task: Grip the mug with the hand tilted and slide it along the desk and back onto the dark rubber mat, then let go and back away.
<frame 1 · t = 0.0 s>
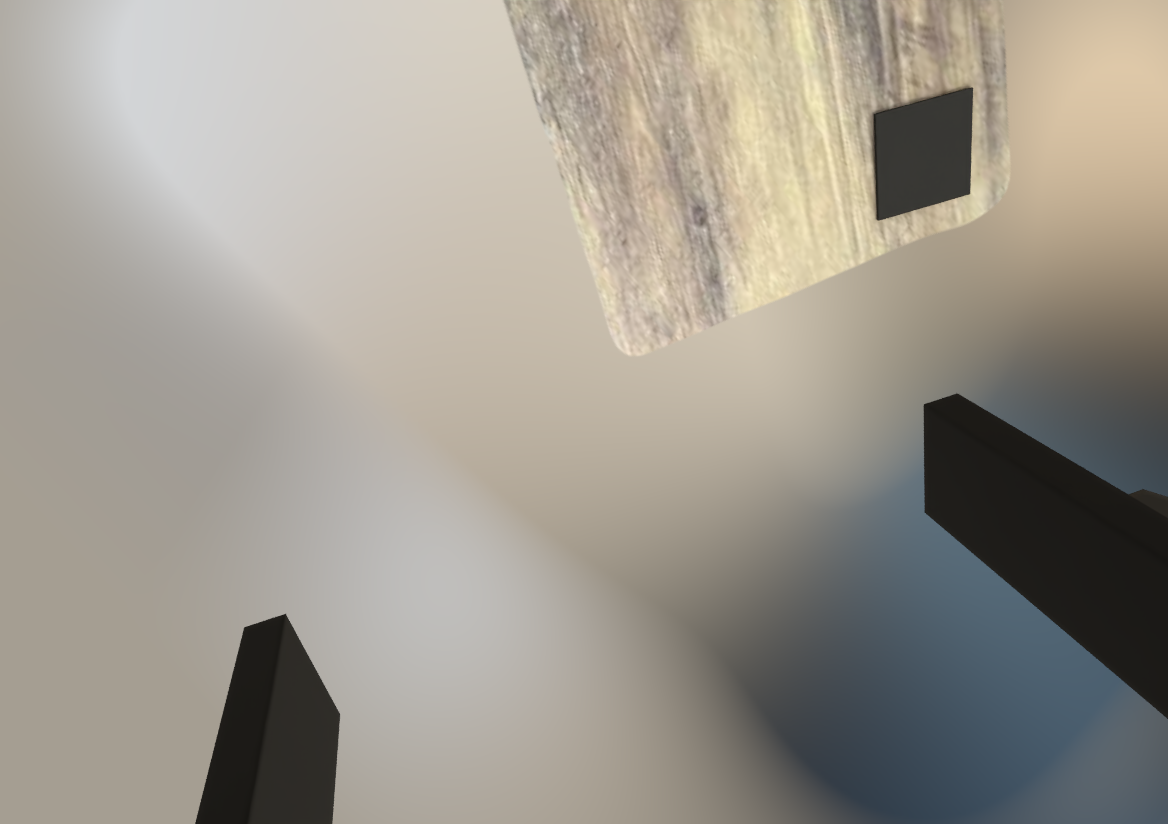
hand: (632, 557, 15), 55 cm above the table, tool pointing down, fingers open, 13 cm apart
mat: (922, 155, 72), on the table
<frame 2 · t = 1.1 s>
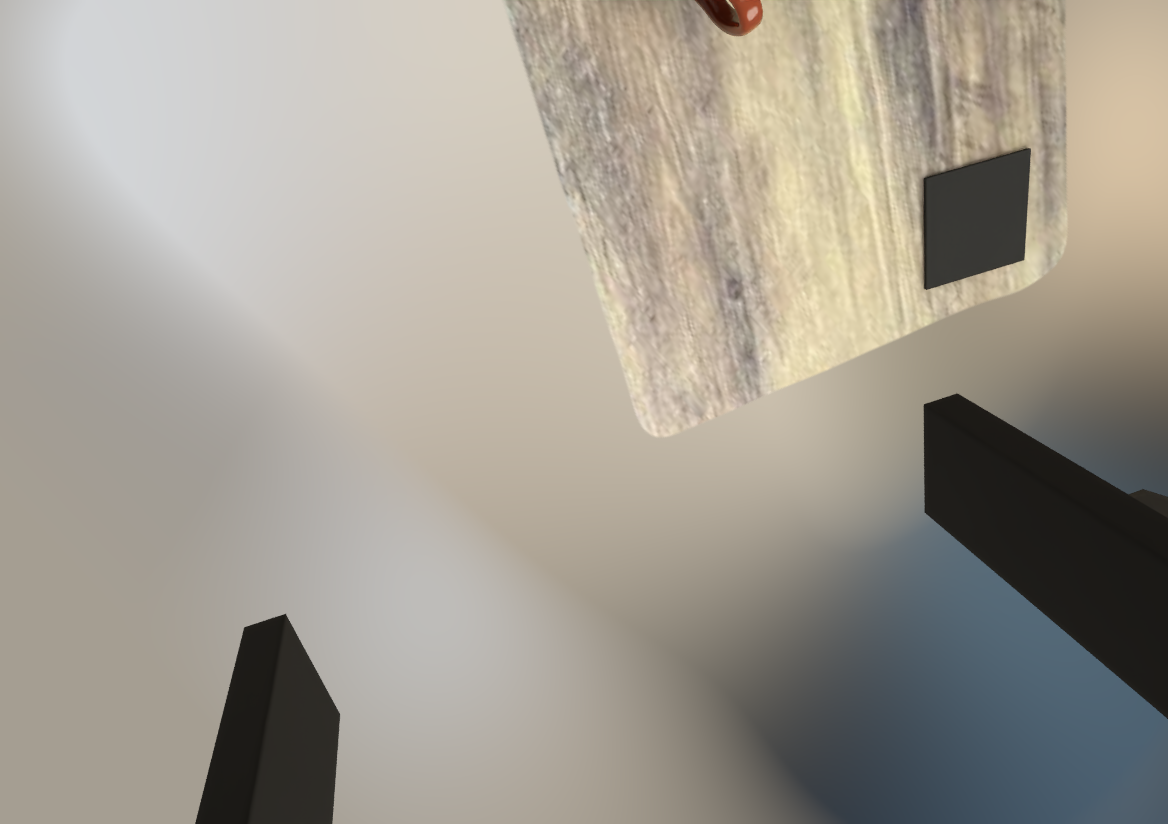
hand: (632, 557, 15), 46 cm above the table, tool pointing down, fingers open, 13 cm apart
mat: (975, 220, 67), on the table
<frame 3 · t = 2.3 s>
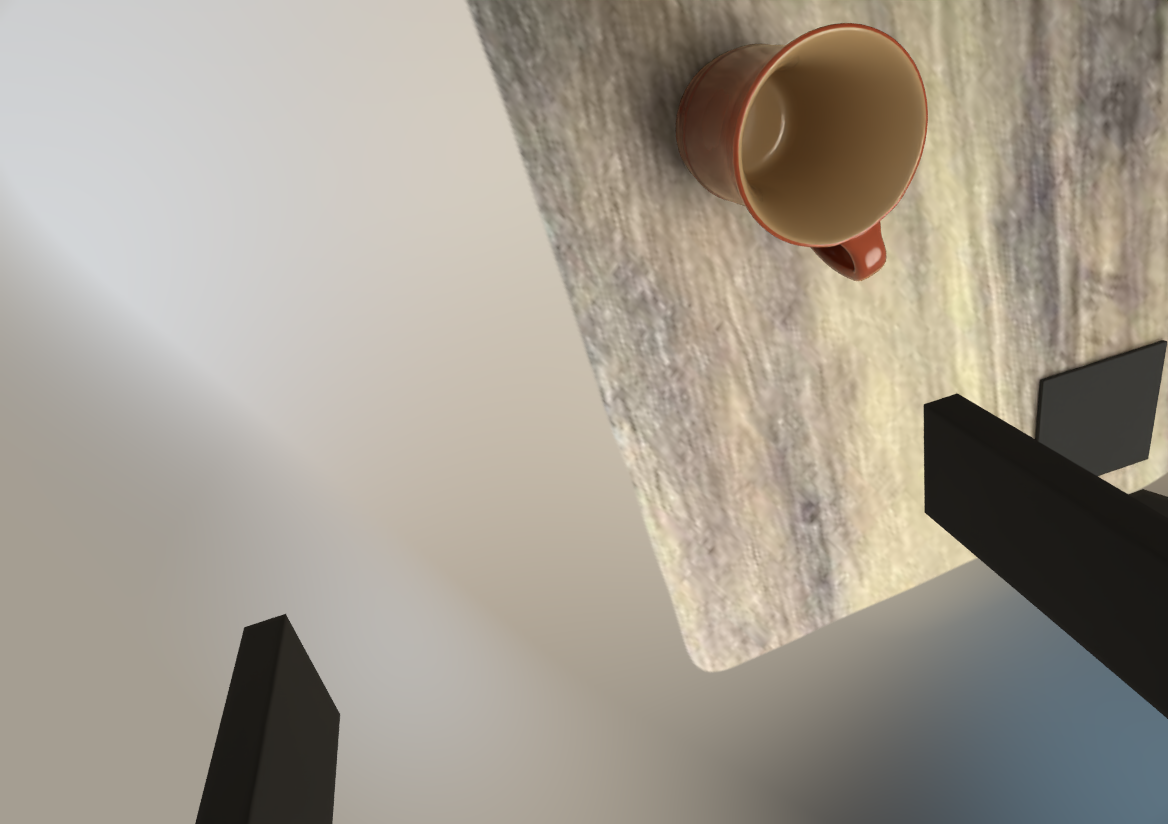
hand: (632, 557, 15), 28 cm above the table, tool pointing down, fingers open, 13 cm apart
mat: (1095, 420, 56), on the table
mug: (744, 149, 41), on the table
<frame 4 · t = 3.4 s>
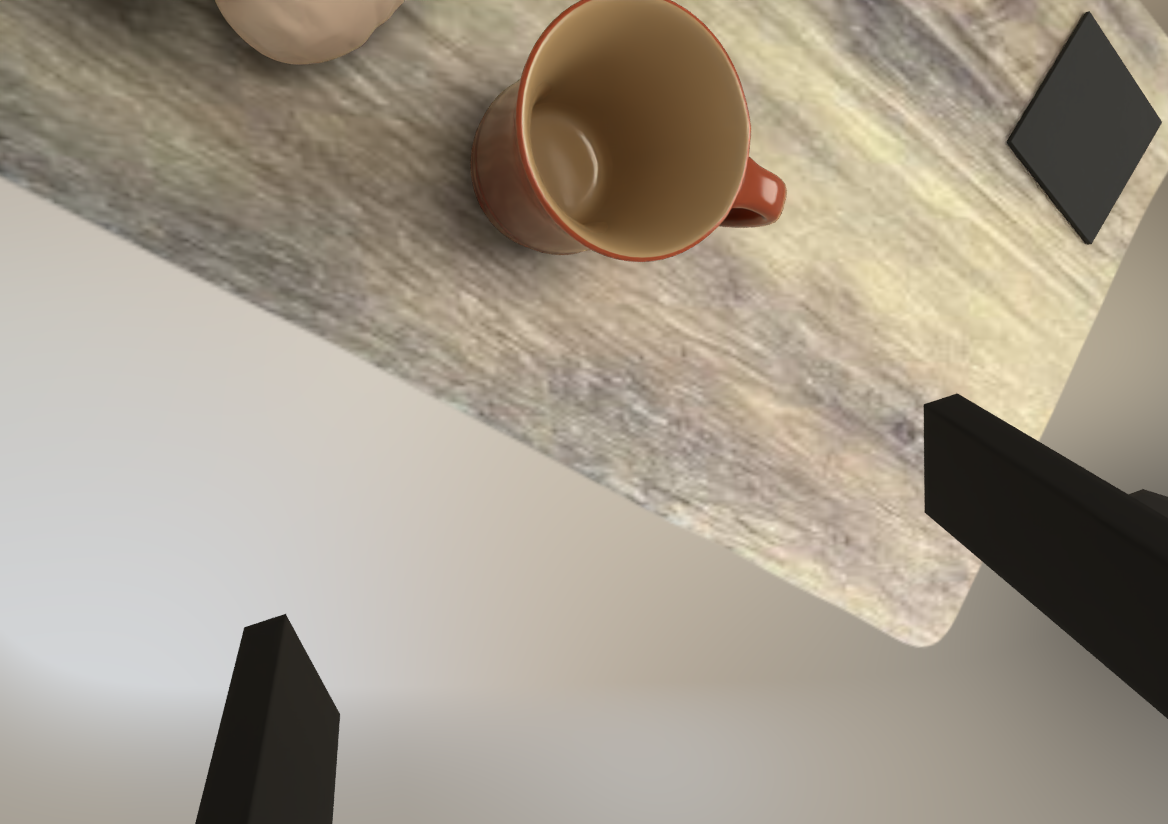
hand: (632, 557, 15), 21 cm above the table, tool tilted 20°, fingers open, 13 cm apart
mat: (1085, 132, 48), on the table
mug: (570, 187, 36), on the table
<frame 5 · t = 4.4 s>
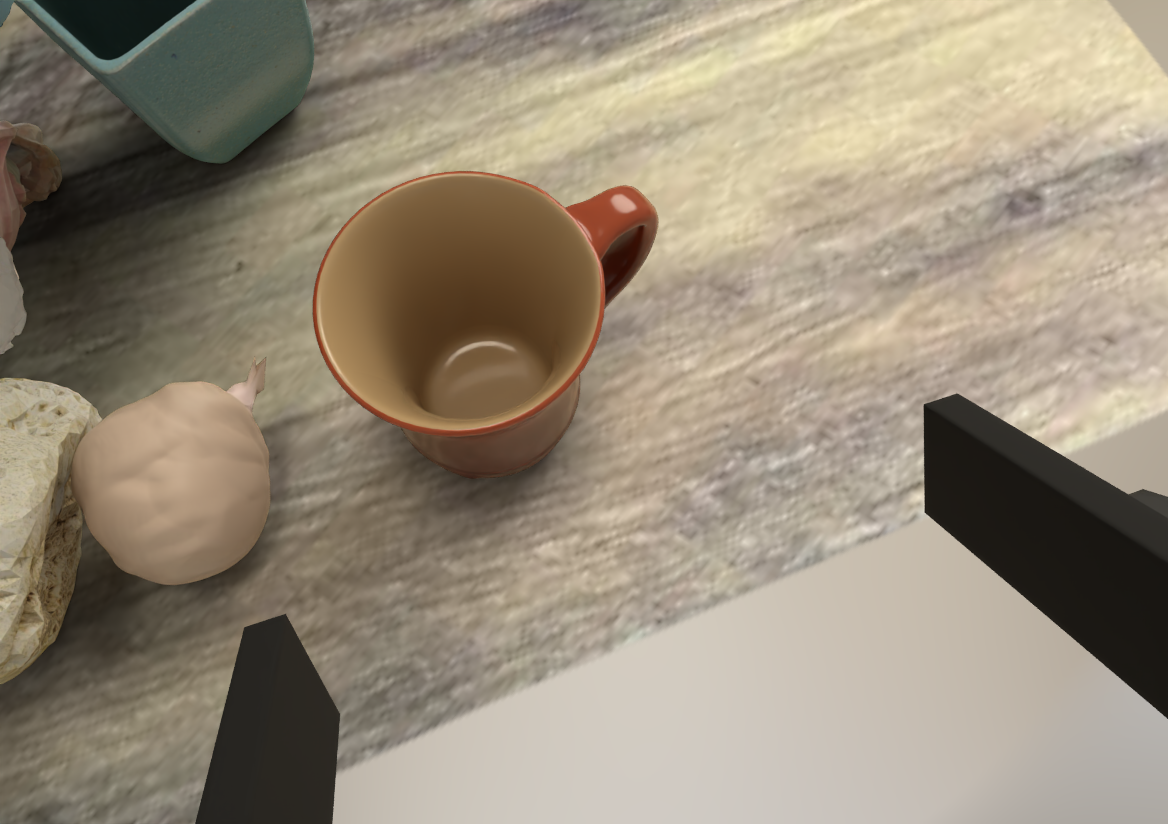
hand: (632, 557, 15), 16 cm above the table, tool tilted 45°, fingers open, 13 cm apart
decorative item: (37, 652, 29), on the table, touching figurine
garlic bulb: (91, 530, 27), point 3 cm above the table
mug: (523, 382, 33), on the table
flower pot: (230, 109, 37), on the table
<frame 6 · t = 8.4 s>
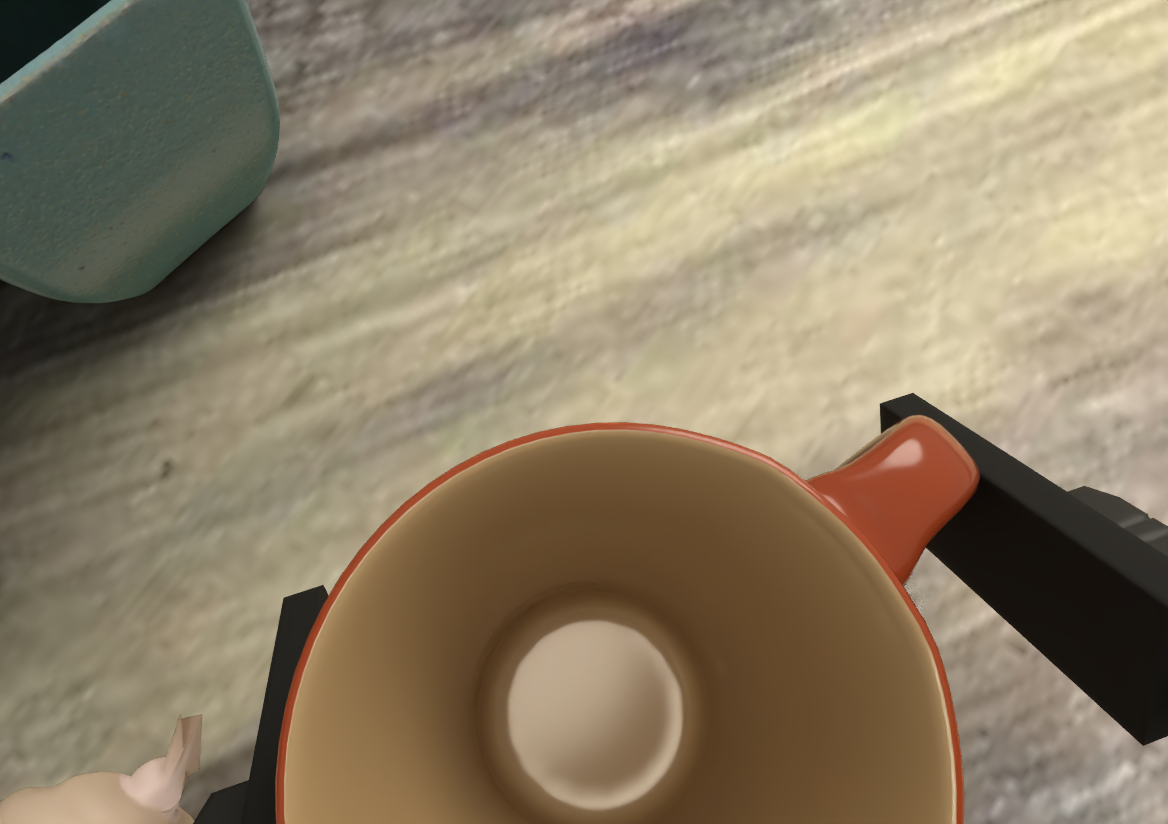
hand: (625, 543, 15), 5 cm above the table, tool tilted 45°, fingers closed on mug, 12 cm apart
mug: (638, 662, 20), on the table, touching gripper
flower pot: (154, 202, 24), on the table
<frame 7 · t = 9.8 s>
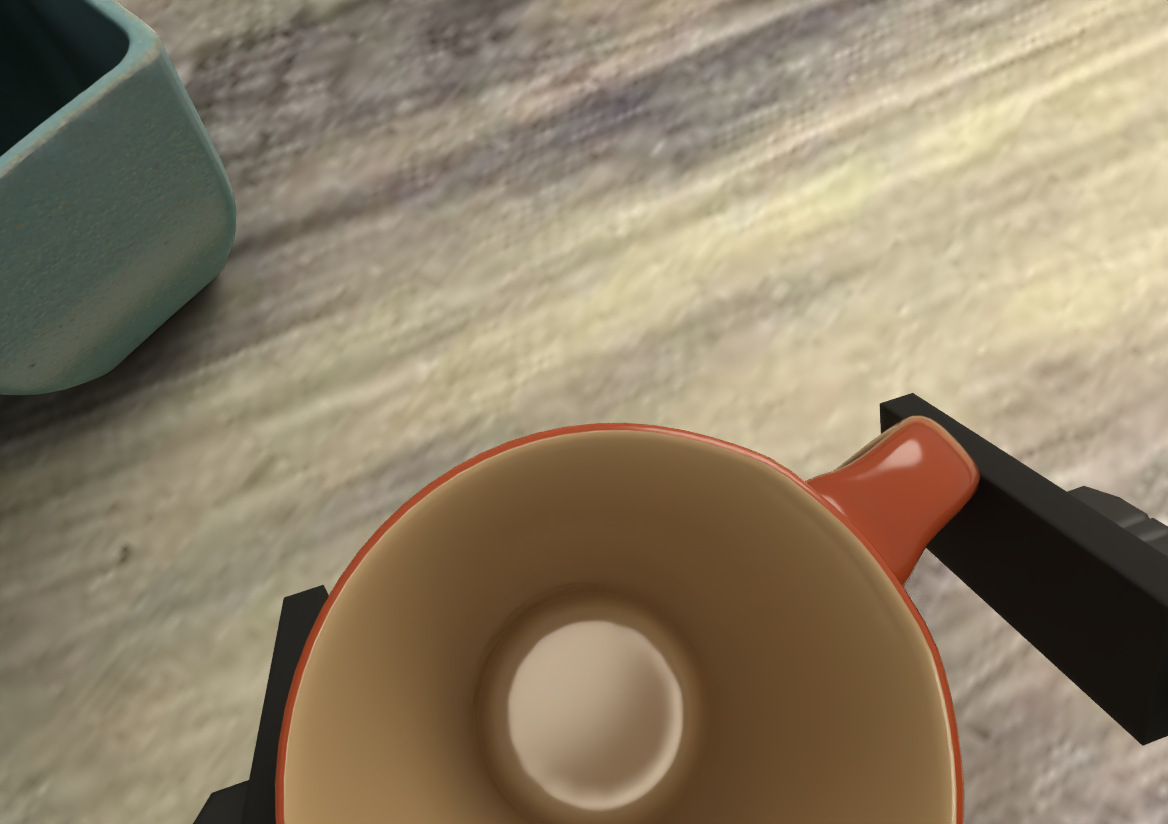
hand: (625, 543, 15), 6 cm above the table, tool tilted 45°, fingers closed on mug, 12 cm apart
mug: (638, 662, 20), on the table, touching gripper
flower pot: (116, 278, 24), on the table
when the fingers open (5 cm above the table, at t = 17.3 s): mug stays where it is, resting on mat.
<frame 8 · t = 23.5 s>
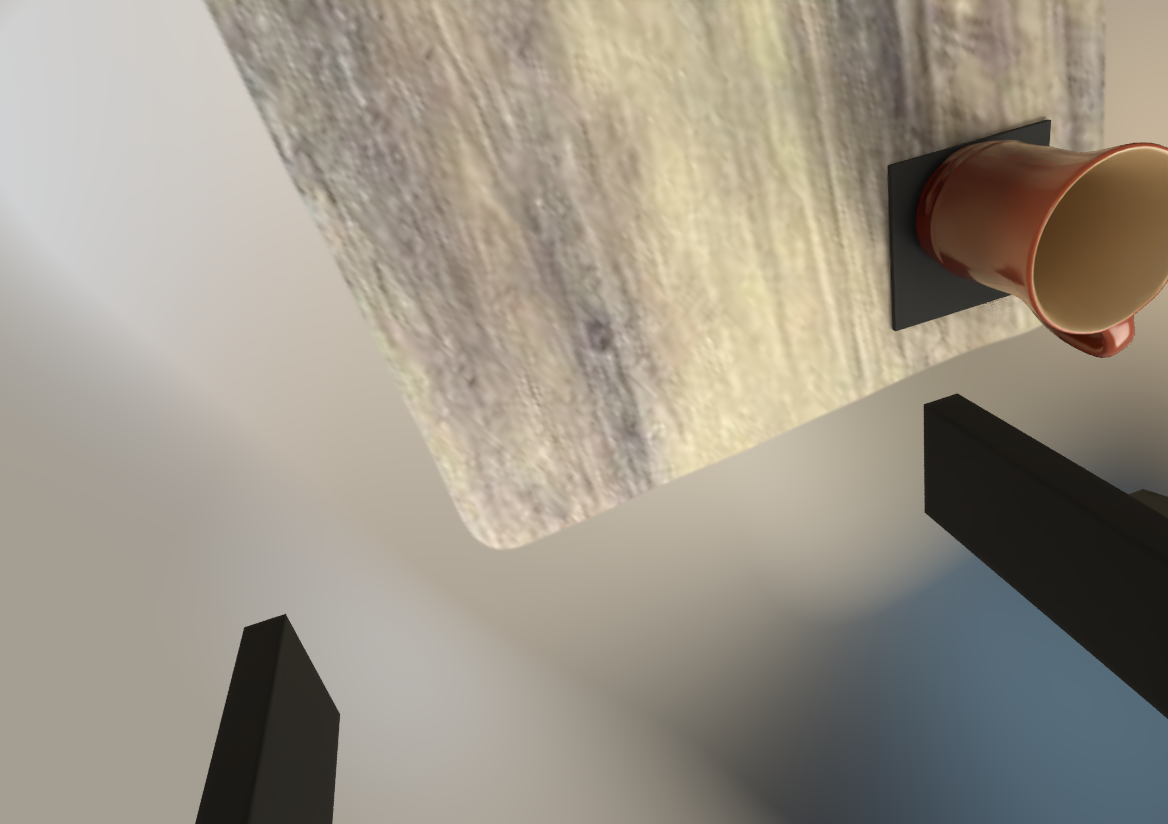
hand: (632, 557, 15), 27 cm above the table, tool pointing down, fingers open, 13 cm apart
mat: (966, 228, 45), on the table
mug: (968, 227, 44), resting on mat
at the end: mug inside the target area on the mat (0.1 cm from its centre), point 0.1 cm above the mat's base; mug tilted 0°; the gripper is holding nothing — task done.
